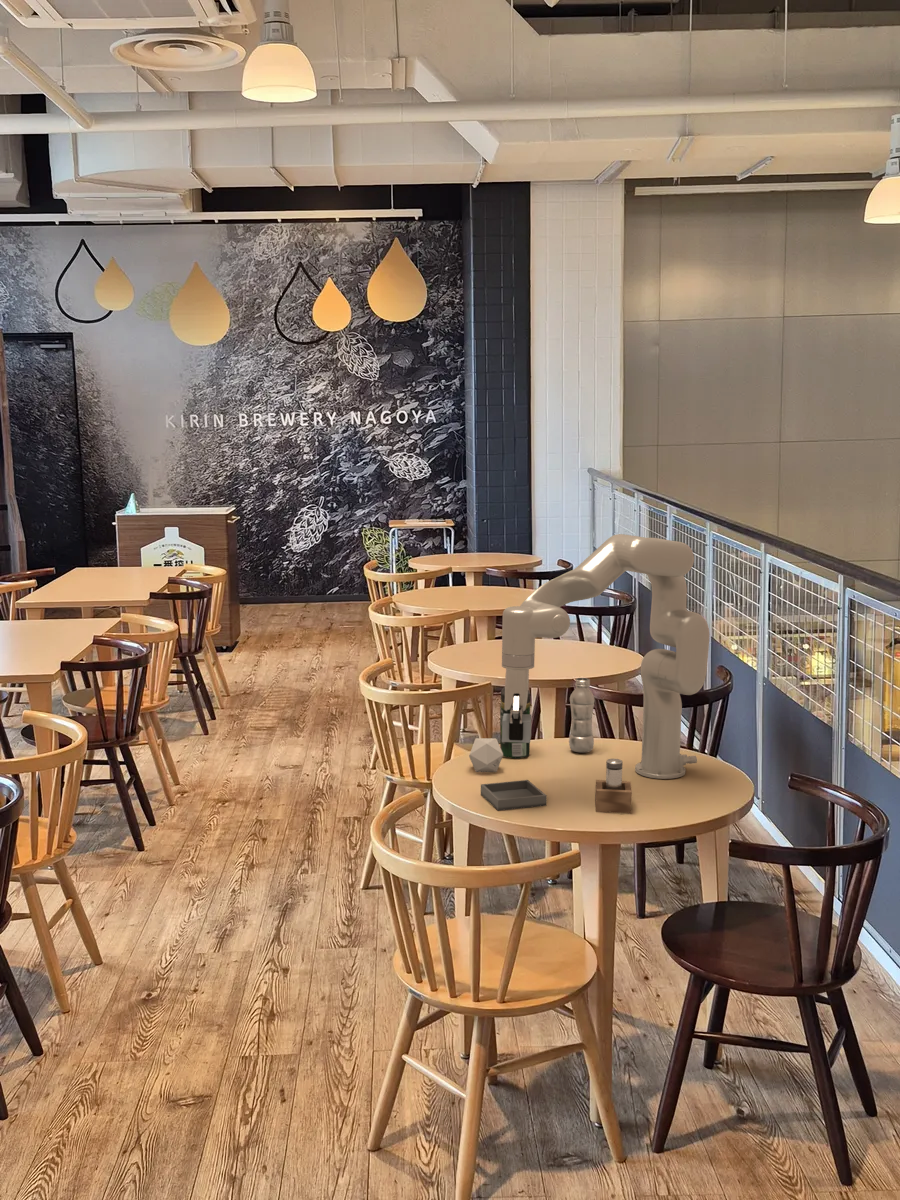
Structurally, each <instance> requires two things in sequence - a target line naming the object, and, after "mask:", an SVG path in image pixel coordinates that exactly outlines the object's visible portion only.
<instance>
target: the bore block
mask: <svg viewBox="0 0 900 1200" xmlns="http://www.w3.org/2000/svg"><path fill="white" fill-rule="evenodd" d="M594 796H595V797H594V801H595V804H594V805H595V812H596V813H616V814H632V798H633V797H632V796H633V791H632V784H631V781H630V780H622V790H611V789H606V779H601V780H600V779H595V795H594Z"/></svg>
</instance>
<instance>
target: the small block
mask: <svg viewBox="0 0 900 1200" xmlns="http://www.w3.org/2000/svg"><path fill="white" fill-rule="evenodd" d="M509 723H510V714H504V715H503V720H502V742H521V743H530V744H531V739H532V738H531V737H532V714H531V713H530V714H522V723H523V740H509Z"/></svg>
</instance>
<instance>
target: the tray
mask: <svg viewBox="0 0 900 1200" xmlns="http://www.w3.org/2000/svg"><path fill="white" fill-rule="evenodd" d="M480 796H482V797H483V798H484V799H485V800H486V801H487V802H488V803H489V804H490V805H491V806H492V807H494V809H495V810H496V811H498V812H499V811H510V810H520V809H530V808H539V807H546V806H547V803H548V802H547V801H548V799H547V798H548V797H547V796H548V795H547V794H546V793H545V792H543V791H542V790H541V789H540V788H538V787H537V786H536V785H535V784H534V783H533V782H531V781H530V780H528V779H522V780H512V781H511V780H510V781H501V782H492V783H480Z"/></svg>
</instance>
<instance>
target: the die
mask: <svg viewBox="0 0 900 1200" xmlns="http://www.w3.org/2000/svg"><path fill="white" fill-rule="evenodd" d="M468 757H469V759H470V762H471V764H472V767H473V769H474V771H475V772H474V773H497V772H498V770H499V767H500V764H501V762H502V760H503V758H504V756H503V752H502V750H501V748H500V743H499V742H498V739H497V738H492V737H491V738H489V737H488V738H486V737H485V738H483V737H482V738H479V737H478V738H477V737H475V739H474V741H473V744H472V746H471V749H470V752H469V755H468Z"/></svg>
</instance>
